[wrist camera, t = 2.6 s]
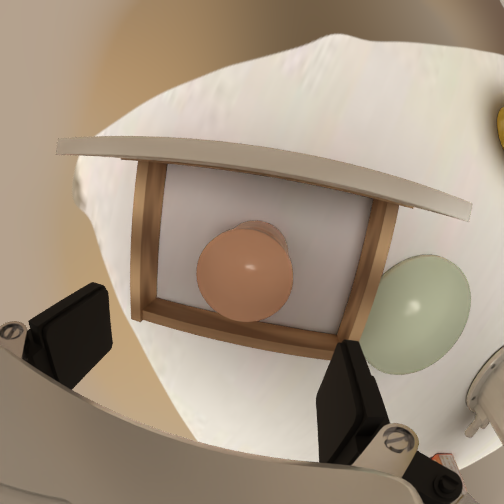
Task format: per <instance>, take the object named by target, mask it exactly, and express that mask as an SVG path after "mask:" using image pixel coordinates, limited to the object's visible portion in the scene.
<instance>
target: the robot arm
mask: <svg viewBox="0 0 504 504" xmlns="http://www.w3.org/2000/svg"><path fill="white" fill-rule="evenodd" d="M29 325H30V329H29V330H28V331H27V328H26V326H25V325H24V324H23V323H21V322H17V321H12V322H7V323H5V324H3V325H1V326H0V504H479V503H478V502H477V501H476V500H475V499H474V498H473V497H472V496H471V495H470V494H469V493H468V492H467V493H465V494H463V493H462V489H463V484H462V480H461V478H460V477H459V475H458V474H457V473H455V472H454V471H452V470H450V469H449V468H447V467H445V466H443V465H441V464H439V463H438V462H436V461H434V460H432V459H431V458H429V457H427V456H425V455H424V454H422V453H420V452H419V451H417V449H418V446H419V440H418V437H417V435H416V433H415V432H414V431H413V430H412V429H410V428H409V427H408V426H405V425H403V424H398V423H392V424H390V422H389V418H388V415H387V412H386V409H385V406H384V403H383V400H382V397H381V394H380V391H379V389H378V386H377V383H376V380H375V378H374V376H372V375H371V373H370V370H369V368H368V365H367V362H366V359H365V357H364V354H363V351H362V349H361V346H360V343H359V341H354V340H346V339H344V340H343V341H342V343H340V342H338V343H337V345H336V348H335V350H334V353H333V356H332V358H331V361H330V364H329V366H328V369H327V371H326V374H325V376H324V379H323V381H322V383H321V386H320V388H319V390H318V393H317V396H316V409H317V425H318V443H319V462H309V461H298V460H289V459H281V458H274V457H268V456H261V455H255V454H250V453H244V452H239V451H234V450H229V449H225V448H221V447H216V446H212V445H208V444H205V443H201V442H197V441H193V440H190V439H187V438H184V437H180V436H177V435H174V434H171V433H168V432H165V431H162V430H159V429H156V428H153V427H151V426H148V425H146V424H143V423H141V422H138V421H135V420H133V419H131V418H128V417H126V416H124V415H121V414H119V413H117V412H114V411H112V410H110V409H108V408H106V407H103V406H102V405H100V404H98V403H95V402H94V401H91V400H90V399H88V398H86V397H84V396H82V395H80V394H78V393H76V392H74V391H73V390H72V389H73V388H74V387H75V386H76V385H77V383H79V382H80V381H81V379H82V378H83V377H84V376H85V375H86V374H87V373H88V372H89V371H90V370H91V369H92V368H93V367H94V366H95V365H96V364H97V363H98V362H99V361H100V360H101V359H102V358H103V357H104V356H105V355H106V354H107V353H108V352H109V351H110V350H111V348H112V344H113V342H112V332H111V323H110V311H109V296H108V291H107V290H106V288H105V286H103V285H101V284H97V283H94V282H92V283H90V284H88V285H86V286H85V287H83V288H81V289H79V290H78V291H76V292H74V293H73V294H71V295H69V296H68V297H66V298H64V299H63V300H61V301H59V302H58V303H56V304H55V305H53V306H51V307H50V308H48V309H46V310H45V311H43V312H42V313H40V314H39V315H37V316H35V317H34V318H32V319H31V320H29ZM466 403H467V406H468V407H469V409H470V411H472V412H475V413H477V414H476V415H475V420H474V421H473V422H472V423H471V424H470V425H469V427H468V428H467V429H466V430H465V435H466V436H467V437H469V438H471V437H472V436H473V435H474V434H475V433H476V432H477V431H478V429H479V427H480V428H482V429H484V428H485V427H486V426H487V425H488V424H489V422H490V423H491V425H492V427H493V428H494V430H495V432H496V434H497V435H498V437H499V439H500V441H501V442H502V444H503V446H504V347H503V348H501V349H500V350H499V351H498V352H497V353H496V354H495V355H494V356H493V357H492V358H490V360H489V361H488V362H487V363H486V364H485V365H484V367H483V368H482V369H481V371H480V372H479V373H478V375H477V376H476V378H475V379H474V381H473V383H472V385H471V387H470V389H469V392H468V395H467V402H466Z"/></svg>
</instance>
